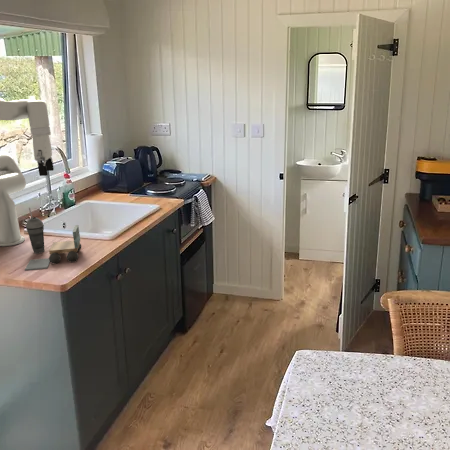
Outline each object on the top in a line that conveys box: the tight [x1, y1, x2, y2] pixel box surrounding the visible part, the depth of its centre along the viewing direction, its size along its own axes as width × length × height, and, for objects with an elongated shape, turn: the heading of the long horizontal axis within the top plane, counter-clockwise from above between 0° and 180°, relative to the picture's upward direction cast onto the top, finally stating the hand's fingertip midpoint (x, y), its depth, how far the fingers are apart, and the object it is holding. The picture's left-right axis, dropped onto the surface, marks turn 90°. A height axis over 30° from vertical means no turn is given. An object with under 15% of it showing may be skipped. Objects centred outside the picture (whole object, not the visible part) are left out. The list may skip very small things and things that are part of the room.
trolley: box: [48, 224, 82, 265], centre depth 208 cm, size 12×13×12 cm
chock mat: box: [24, 257, 51, 271], centre depth 203 cm, size 9×10×1 cm
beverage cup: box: [25, 207, 45, 254], centre depth 215 cm, size 7×7×20 cm
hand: (46, 173), depth 207 cm, fingers open, 9 cm apart
